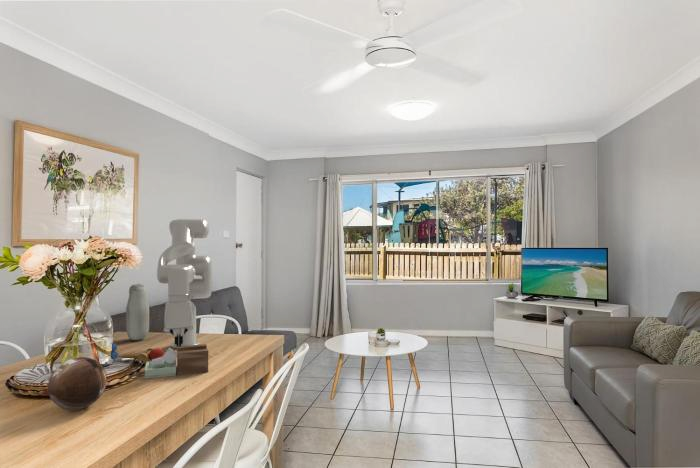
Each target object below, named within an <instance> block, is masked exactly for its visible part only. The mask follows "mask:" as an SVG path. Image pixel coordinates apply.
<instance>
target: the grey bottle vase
mask: <svg viewBox="0 0 700 468" xmlns="http://www.w3.org/2000/svg"><path fill="white" fill-rule="evenodd" d="M146 291H147V290H146V287H145V285H144V284H141V283H135V284H132V285H130V286H129V289H128V299H127V303H126V307H125V308H126V309H125V317H126V318H125V320H126V323H125V324H126V325H125V326H126V327H125V328H126V335H127V337H128V339H130V340H131V341H141V340H144V339H145V338H146V337H147V336H148V335H149V333H150V332H149V331H150V305H149V302H148V299H147V293H146Z"/></svg>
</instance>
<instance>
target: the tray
mask: <svg viewBox="0 0 700 468" xmlns="http://www.w3.org/2000/svg"><path fill="white" fill-rule="evenodd" d="M164 363H165V368H158V369H153V367H152V361H150V360H149V362H147V363H146V364H145V368H144V379H146V380H147V379H153V378H154V379H155V378H163V377H173V376H177V358H176V359H175V360H174V361H173V363H172V364H169V363H168V362H166V361H165V360H164Z"/></svg>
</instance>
